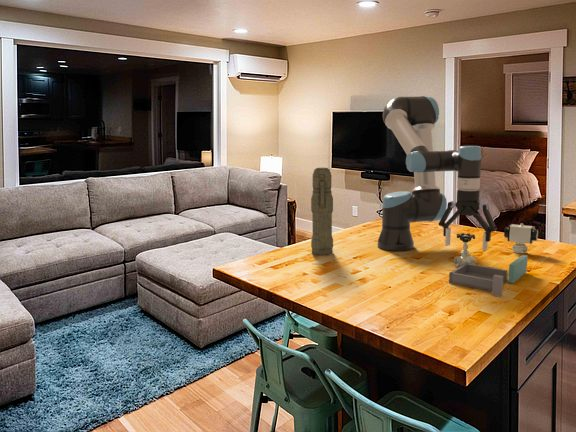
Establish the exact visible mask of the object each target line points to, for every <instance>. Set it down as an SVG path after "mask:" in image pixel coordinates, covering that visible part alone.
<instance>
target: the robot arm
mask: <svg viewBox="0 0 576 432" xmlns="http://www.w3.org/2000/svg"><path fill="white" fill-rule="evenodd" d="M439 116H440V109H439V104H438V101H436V99H435V98H434V97H432V96H425V95H421V96H397V97H394V98H392V99H391V100H390V101H388V102H387V103H386V105H385V107H384V108H383V111H382V120H383V123H384V124H385V126H386V127H387V129H389V130H391V132H392V133H393V134H394V137H395V138H396V139H397V141H398V143H399V144H400V146H401V147H402V149H403V151H404V153H405V154H406V158H405V165H406V169H407V171H409V172H410V173H413V177H414V178H413V179H414V188H413V189H412V190H411V191H408V190H407V191H406V190H405V191H404V190H402V191H395V192H394V191H393V192H389V193H387V194H385V195H384V196H383V198H382V205H381V207H382V209H381V210H382V213H381V215H382V217H381V221H382V222H381V231H380V233H379V236H378V239H377V247H378V248H379V249H382V250H386V251H392V252H405V251H410V250H413V249H414V247H415V244H414V242H415V241H414V238H413V235H412V232H411V223H419V222H420V223H421V222H422V223H423V222H430V223H431V222H435V221H439V222H438V226H441V227H442V229H443V237H445V243H444V245H445V246H446V247H448V246H450V245H451V234H452V233H451V232H452V231H451V229H452V227H450V226H451V225H452V224H453V223H454V222H455V220H457V218H459V217H460V215H461V216H468V217H471V216H473V218H475V219H476V221H477V222H478V223H479V225H480V226H481V228H482V229H483V230H484V232H483V234H482V252H486V251H487V250H488V244H489V243H488V242H490V241H491V240H492V239H491V238H492V237H491V235H492V232H495V231H497V230H498V227H497V226H496V223H495V221H494V219H493V217H492V214H491V212H490V209H489V204H488V203H484V204H480V192H481V191H480V190H479V189H481V188H480V187H481V169H482V159H483V157H482V147H481V146H479V145H461V146H460V147H459V148H458V150H457V149H456V150H455V149H452V150H451V149H450V150H436V151H435V150H434V148H433V136H432V135H433V134H432V130H433V128H435V125H436V123H437V122H438V121H439ZM436 172H457V186H456V187H457V189H458V190H457V191H456V202H454V201H448V202H447V198H446V195H445V193H441V188H440V187H439V186H437V184H436ZM454 208H456V209H457V210H456V211H455V212H454V214H453V215H452V216H450V214H451V213H452V211H453V209H454ZM479 210H481V211H482V213H483V215H484V217H485V219H484V218H483V216H482V215H481V213H480V212H479ZM449 216H450V218H449V219H448V217H449Z"/></svg>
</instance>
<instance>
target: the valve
mask: <svg viewBox="0 0 576 432" xmlns="http://www.w3.org/2000/svg"><path fill="white" fill-rule="evenodd" d="M456 238H457V239H459V241H461V242H462V243H463V244H462V250H461V251H460V255H461V256H455V257H453V258H454V259H453V264H454V266H455V267H457V268H458V267H460V266H462V265H463V264H465V263H467V264H473V265H476V258H475V257H474V256H473V255H470V251H468V249H469V244H468V243H469V242H471V241H472V240H475V239H476V234H471V233H468V232H467V233H464V232H461V233H456Z"/></svg>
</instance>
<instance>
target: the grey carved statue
mask: <svg viewBox="0 0 576 432" xmlns="http://www.w3.org/2000/svg"><path fill="white" fill-rule="evenodd" d="M332 193H333V192H332V172H331V169H330V168H328V167H316V168H315V169H313V173H312V194H311V197H310V209H311V210H310V212H311V215H312V217H311V218H312V235H311V239H310V240H311V241H310V242H311V244H310V246H311V255H314V256H322V257H323V256H330V255H333V254H334V251H333V249H334V238H333V223H332V222H333V211H334V197H333V194H332Z"/></svg>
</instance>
